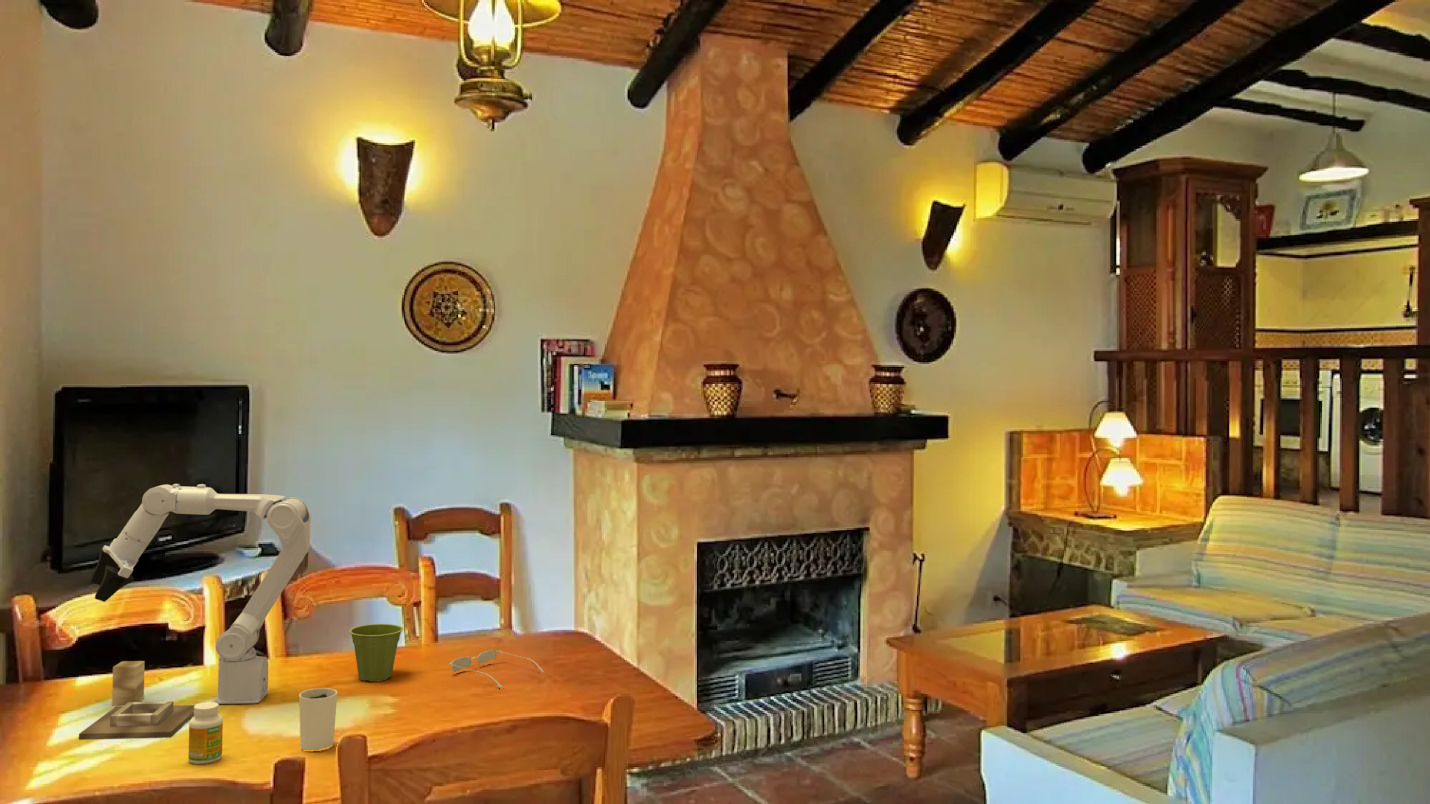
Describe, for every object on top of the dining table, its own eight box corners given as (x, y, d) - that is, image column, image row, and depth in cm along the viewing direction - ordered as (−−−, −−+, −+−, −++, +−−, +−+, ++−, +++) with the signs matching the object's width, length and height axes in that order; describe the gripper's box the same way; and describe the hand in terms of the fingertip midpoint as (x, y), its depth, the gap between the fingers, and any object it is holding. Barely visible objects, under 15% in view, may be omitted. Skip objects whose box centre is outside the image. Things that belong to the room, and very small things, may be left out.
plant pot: (413, 676, 234) (414, 628, 234) (371, 688, 224) (372, 638, 224) (379, 667, 241) (380, 620, 240) (336, 679, 231) (338, 630, 230)
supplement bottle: (208, 766, 178) (209, 711, 177) (181, 763, 179) (182, 708, 179) (228, 755, 183) (229, 702, 183) (202, 752, 184) (203, 699, 184)
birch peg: (143, 698, 213) (144, 661, 213) (135, 705, 208) (135, 667, 208) (121, 699, 212) (122, 661, 212) (112, 705, 208) (112, 667, 208)
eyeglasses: (497, 664, 248) (498, 648, 248) (550, 678, 238) (550, 661, 238) (447, 677, 236) (448, 660, 236) (500, 693, 225) (501, 675, 225)
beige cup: (304, 740, 192) (305, 688, 191) (340, 740, 192) (341, 688, 192) (292, 753, 185) (294, 699, 185) (330, 753, 186) (331, 699, 185)
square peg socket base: (200, 709, 207) (200, 695, 207) (170, 737, 191) (170, 721, 191) (115, 711, 204) (116, 696, 204) (78, 739, 189) (79, 723, 189)
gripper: (113, 515, 213) (74, 569, 212) (121, 543, 202) (81, 600, 201) (145, 527, 218) (108, 581, 217) (155, 556, 207) (116, 612, 206)
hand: (97, 591), depth 209 cm, fingers open, 7 cm apart
